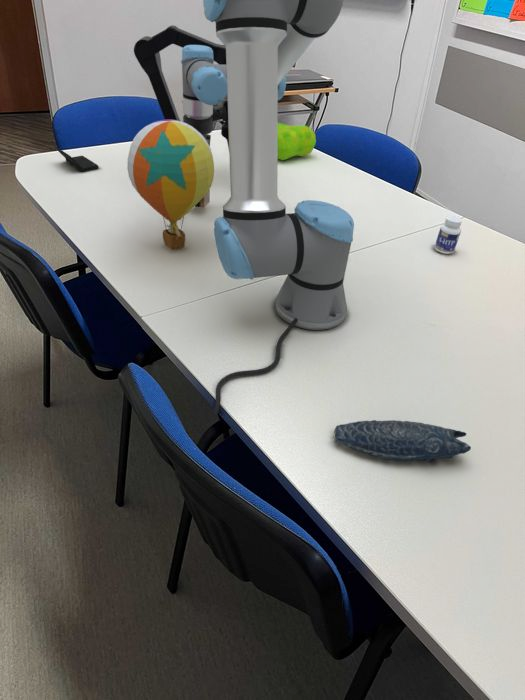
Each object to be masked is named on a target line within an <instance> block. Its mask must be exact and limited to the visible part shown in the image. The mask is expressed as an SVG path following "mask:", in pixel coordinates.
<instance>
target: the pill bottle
mask: <svg viewBox="0 0 525 700" xmlns="http://www.w3.org/2000/svg"><path fill="white" fill-rule="evenodd" d="M462 222H463V219H461V218H460V217H458V216H455V215H448V216H446V218H445V220H444V223H443V224H442V225H440V228H439V231H438V234H437V237H436V240H435V243H434V250H435V251H437V252H439V253H441V254H447V255H449V254H453V253H454V252H455V250H456V247H457V244H458V242H459V239H460V236H461V233H462V229H461V225H462Z"/></svg>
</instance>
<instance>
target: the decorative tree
mask: <svg viewBox="0 0 525 700" xmlns="http://www.w3.org/2000/svg"><path fill="white" fill-rule="evenodd" d="M316 143H317V136H316V133H315V132H314V131H313V130H312V129H311V128H310V127H309V126H308V125H288V124H285V123H282V122H278V156H277V160H280V161H285V160H288V159H290V158H292V157H306V156H307V155H309V154H311V153H313V150H314V148H315V146H316Z"/></svg>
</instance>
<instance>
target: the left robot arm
mask: <svg viewBox="0 0 525 700" xmlns="http://www.w3.org/2000/svg"><path fill="white" fill-rule="evenodd" d="M171 45H175V46H177V47H180V48H182V49H183V47H185V46H187V45H203V46H208V47H210V48H211V49H212V50H213V58H214V63H216V64H221V65H226V47H225V45H224V44H220V43H216V42H213V41H210V40H209V39H206V38H203V37H201V36H199V35H196V34H194V33H191V32H189V31H186V30H184V29H181V28H179V27H178V26H176V25H174V24H172V25H169V26H167V28H165V29H163V30H162V31H160V32H158V33H156V34H155V35H153V36H148V35H145V36H143V37H141V38H139V39H138V40H137V41H136V42H135V43H134V47H133V54H134V56H135V59H136V60H137V62H138V64H139V66H140V67H141V68H142V70H143V71H144V72H145V74H146V75H147V77H148V79H149V82H150V84H151V87H152V90H153V92H154V94H155V98H156V100H157V103H158V105H159V109H160V111H161V113H162V116H163V120H167V119H171V120H177V121H181V119H180V117H179V114H178V112H177V109H176V106H175V103H174V100H173V97H172V95H171V91H170V89H169V86H168V83H167V81H166V78H165V75H164V72H163V69H162V59H161V53H160V52H161V51H163V50H164V49H166V48H168V47H169V46H171ZM222 102H223V103H222V104H217V105H213V114H212V115H211V117H212V118H213V122H216V121H219V120H222V122H223V123H222V124H221V128H220V136H222V138H224V139H225V140H226V142H227V147H228V149H229V127H228V101H222Z"/></svg>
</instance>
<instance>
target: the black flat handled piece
mask: <svg viewBox="0 0 525 700" xmlns="http://www.w3.org/2000/svg"><path fill="white" fill-rule="evenodd" d="M53 148H54V149H55V150H56V151H57V152H58V153H59V154H60V155H61V156H63V158H65V162H67V163H68V164H69V165H71V166H73V167H75V169H77V170H78V171H80V172H86V171H91V170H97V169H99V164H97V163H95V162H93V161H92V160H91V159H90V158H89V159H88V158H87V157H86V156H84V155H77V156H71V155H70V154H68V153H66V152H65V151H64V150H63V149H60V148H59V147H57V146H56V145H54V146H53Z"/></svg>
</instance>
